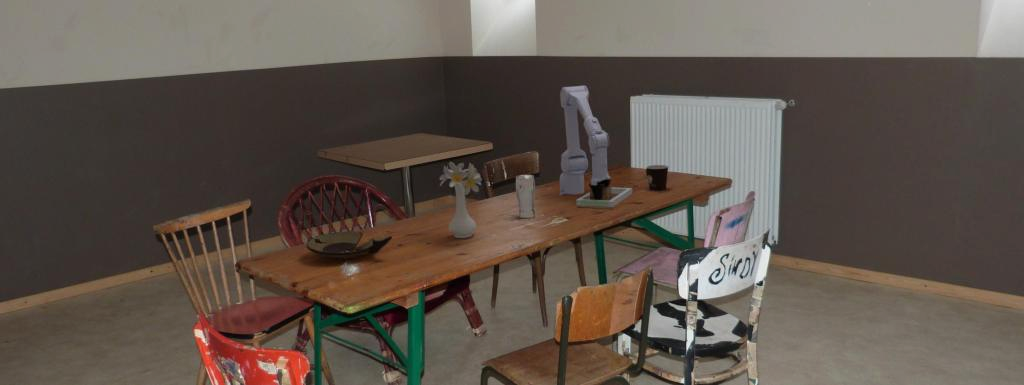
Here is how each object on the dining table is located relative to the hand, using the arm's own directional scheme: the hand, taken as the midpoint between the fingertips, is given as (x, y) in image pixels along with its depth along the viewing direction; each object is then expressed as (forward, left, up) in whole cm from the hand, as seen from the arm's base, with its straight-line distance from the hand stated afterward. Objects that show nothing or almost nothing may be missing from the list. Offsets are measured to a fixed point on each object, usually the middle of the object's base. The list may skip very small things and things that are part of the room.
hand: (600, 200), depth 324 cm
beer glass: (-20, -25, -2) cm, 32 cm away
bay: (0, +5, -2) cm, 5 cm away
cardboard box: (0, 0, -1) cm, 1 cm away
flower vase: (-29, -56, -2) cm, 63 cm away
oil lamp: (-54, -88, -2) cm, 103 cm away
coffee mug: (+14, +28, -2) cm, 32 cm away
